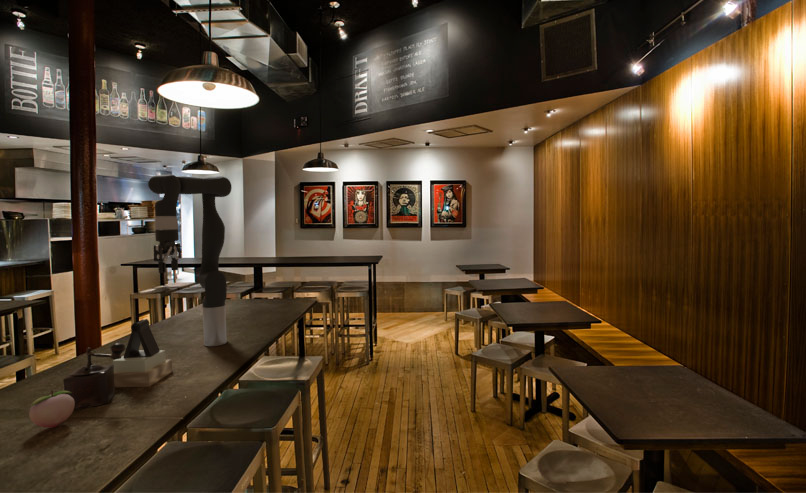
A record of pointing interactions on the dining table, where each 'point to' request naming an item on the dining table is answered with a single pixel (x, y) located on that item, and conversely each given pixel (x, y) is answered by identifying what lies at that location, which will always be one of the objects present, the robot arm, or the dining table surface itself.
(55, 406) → the decorative fruit
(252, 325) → the dining table surface
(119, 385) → the tower base
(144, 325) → the phone stand
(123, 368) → the tower top
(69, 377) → the manual coffee grinder
